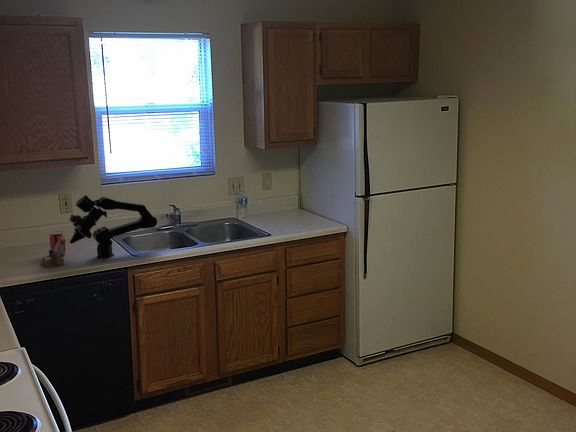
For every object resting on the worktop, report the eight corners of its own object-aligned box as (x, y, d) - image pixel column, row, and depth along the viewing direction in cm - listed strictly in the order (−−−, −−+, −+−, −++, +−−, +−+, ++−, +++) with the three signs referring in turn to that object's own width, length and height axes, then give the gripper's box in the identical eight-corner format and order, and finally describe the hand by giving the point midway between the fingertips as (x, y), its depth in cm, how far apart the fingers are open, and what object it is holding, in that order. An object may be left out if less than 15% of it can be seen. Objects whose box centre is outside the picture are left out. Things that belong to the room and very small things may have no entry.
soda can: (67, 253, 327) (65, 230, 324) (63, 257, 320) (61, 234, 317) (53, 254, 327) (51, 231, 324) (49, 257, 320) (47, 234, 317)
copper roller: (55, 255, 312) (64, 237, 313) (57, 258, 307) (66, 240, 307) (50, 253, 311) (59, 235, 311) (52, 256, 306) (61, 238, 306)
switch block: (60, 259, 316) (59, 248, 314) (64, 264, 307) (63, 252, 306) (43, 262, 312) (42, 250, 311) (46, 267, 303) (45, 255, 302)
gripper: (75, 205, 319) (54, 229, 316) (83, 211, 302) (60, 237, 300) (92, 218, 324) (71, 242, 321) (101, 225, 308) (79, 251, 305)
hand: (70, 243), depth 312 cm, fingers closed
